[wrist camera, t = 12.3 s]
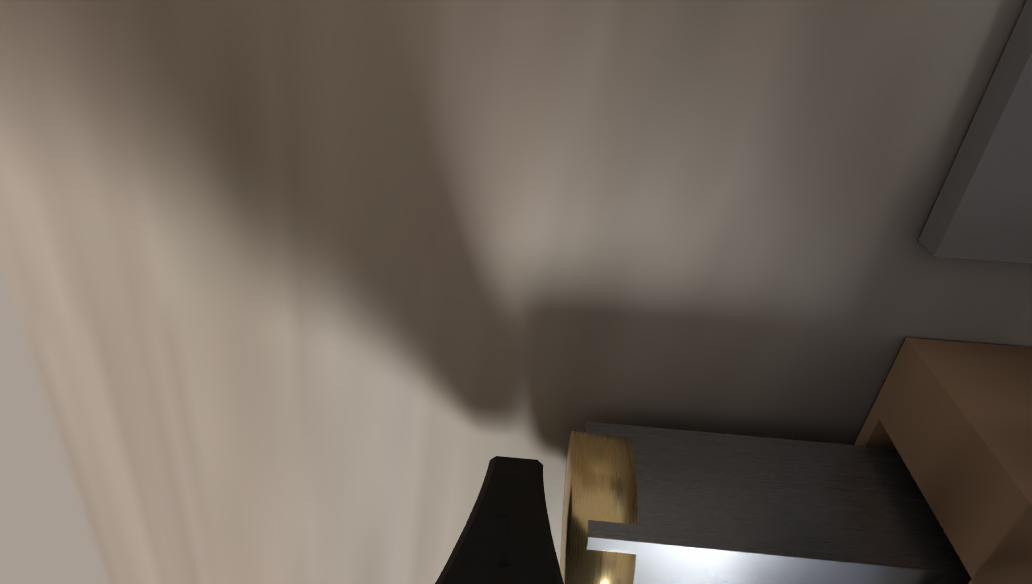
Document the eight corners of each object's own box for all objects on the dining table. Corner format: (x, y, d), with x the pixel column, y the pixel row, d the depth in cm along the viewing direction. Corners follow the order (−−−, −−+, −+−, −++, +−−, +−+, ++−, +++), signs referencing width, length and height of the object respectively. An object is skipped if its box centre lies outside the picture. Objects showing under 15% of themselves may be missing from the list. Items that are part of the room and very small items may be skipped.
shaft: (1372, 465, 10) (1624, 644, 8) (1250, 568, 12) (1428, 743, 10) (574, 396, 11) (573, 541, 9) (561, 502, 13) (557, 649, 10)
